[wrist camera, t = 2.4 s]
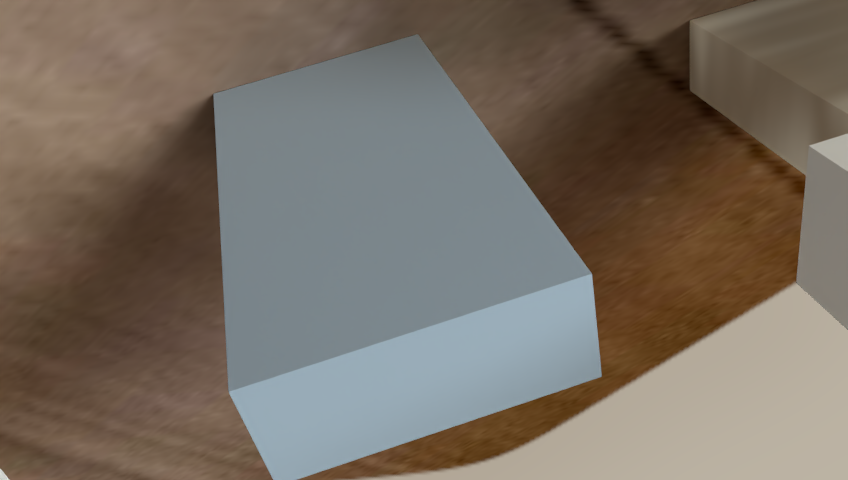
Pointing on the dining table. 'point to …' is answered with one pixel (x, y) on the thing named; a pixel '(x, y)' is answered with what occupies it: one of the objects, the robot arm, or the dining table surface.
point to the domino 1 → (384, 263)
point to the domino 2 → (776, 71)
